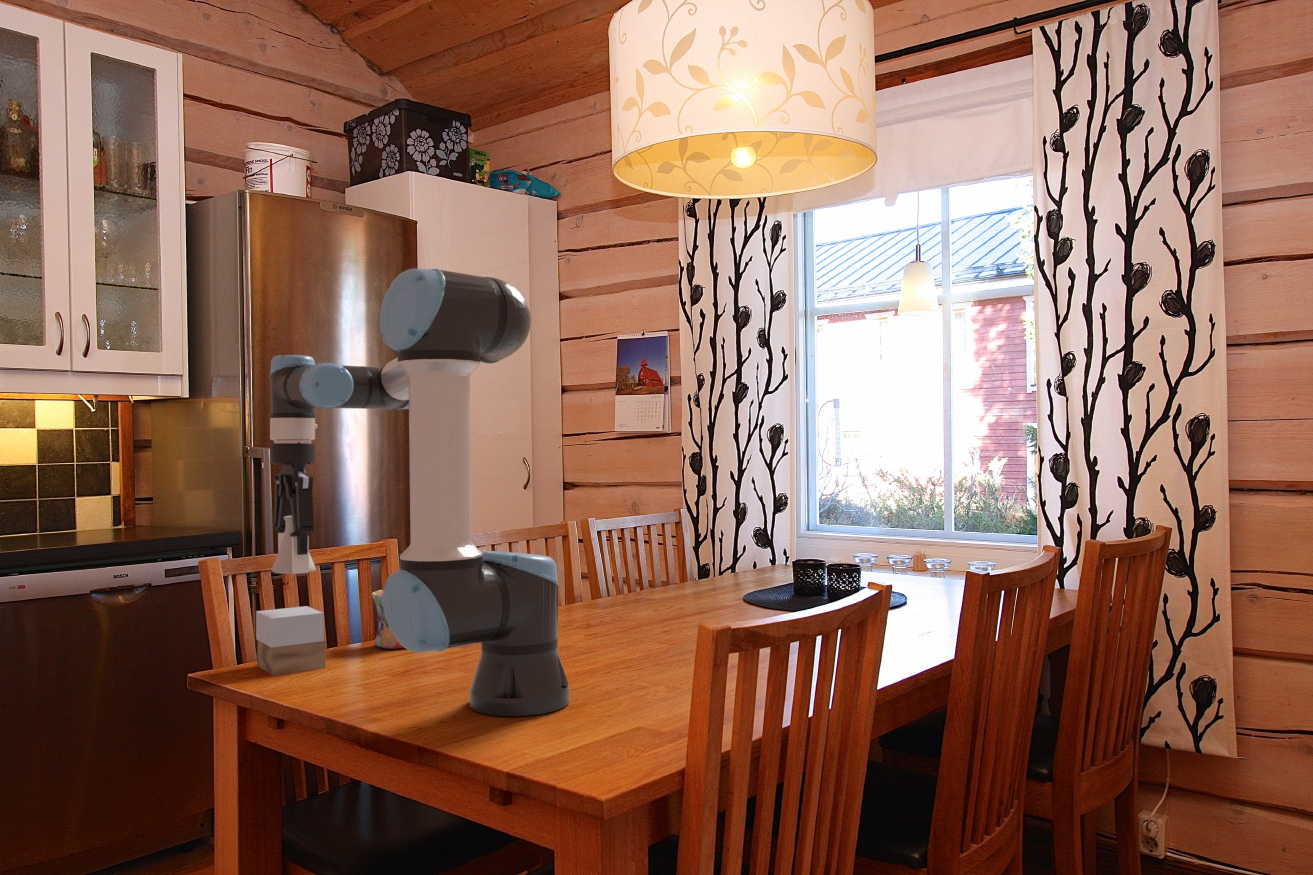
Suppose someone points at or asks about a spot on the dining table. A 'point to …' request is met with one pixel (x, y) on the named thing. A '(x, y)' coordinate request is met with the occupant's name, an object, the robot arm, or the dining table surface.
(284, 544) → the flask
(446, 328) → the robot arm
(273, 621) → the block top
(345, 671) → the dining table surface
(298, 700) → the dining table surface
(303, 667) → the block bottom
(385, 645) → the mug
